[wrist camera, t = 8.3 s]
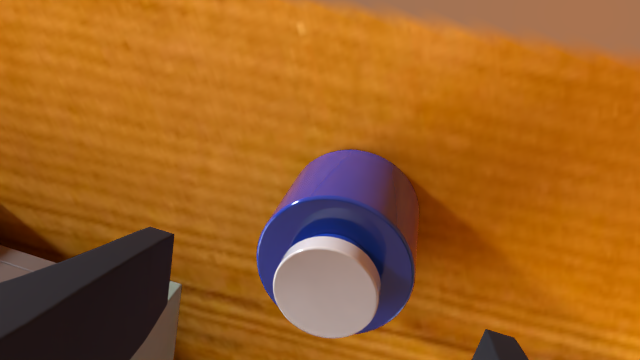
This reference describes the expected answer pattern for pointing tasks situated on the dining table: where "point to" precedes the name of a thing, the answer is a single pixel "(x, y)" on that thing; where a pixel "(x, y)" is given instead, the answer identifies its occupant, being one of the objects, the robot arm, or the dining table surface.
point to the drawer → (160, 343)
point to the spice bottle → (342, 245)
